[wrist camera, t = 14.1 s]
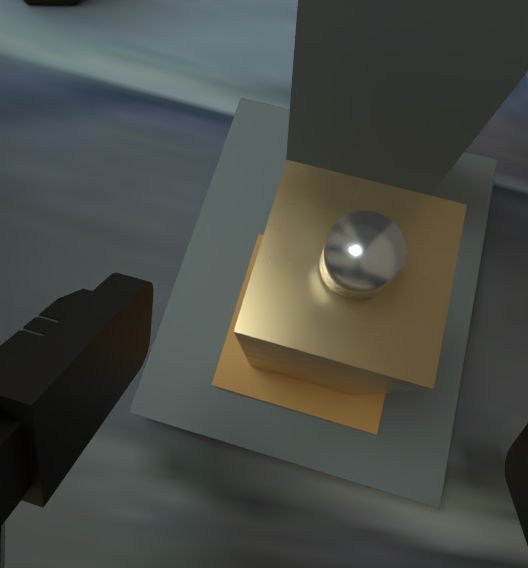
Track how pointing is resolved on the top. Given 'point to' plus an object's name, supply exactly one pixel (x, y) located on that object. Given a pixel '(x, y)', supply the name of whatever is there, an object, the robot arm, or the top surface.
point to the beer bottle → (53, 2)
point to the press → (359, 163)
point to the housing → (351, 283)
